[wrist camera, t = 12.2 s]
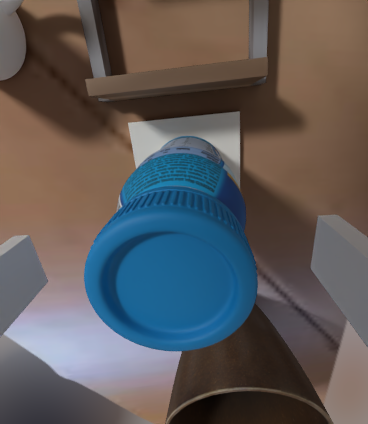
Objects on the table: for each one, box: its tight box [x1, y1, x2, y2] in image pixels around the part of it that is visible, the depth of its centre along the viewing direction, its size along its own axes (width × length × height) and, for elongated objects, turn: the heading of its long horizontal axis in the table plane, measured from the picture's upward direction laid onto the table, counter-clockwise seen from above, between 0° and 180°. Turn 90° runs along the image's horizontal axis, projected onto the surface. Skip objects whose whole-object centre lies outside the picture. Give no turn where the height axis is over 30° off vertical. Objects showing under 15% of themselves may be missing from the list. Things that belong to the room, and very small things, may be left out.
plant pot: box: [165, 303, 333, 424], centre depth 28 cm, size 15×15×16 cm
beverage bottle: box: [84, 136, 258, 351], centre depth 18 cm, size 8×8×20 cm
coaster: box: [128, 111, 240, 188], centre depth 27 cm, size 12×12×1 cm
